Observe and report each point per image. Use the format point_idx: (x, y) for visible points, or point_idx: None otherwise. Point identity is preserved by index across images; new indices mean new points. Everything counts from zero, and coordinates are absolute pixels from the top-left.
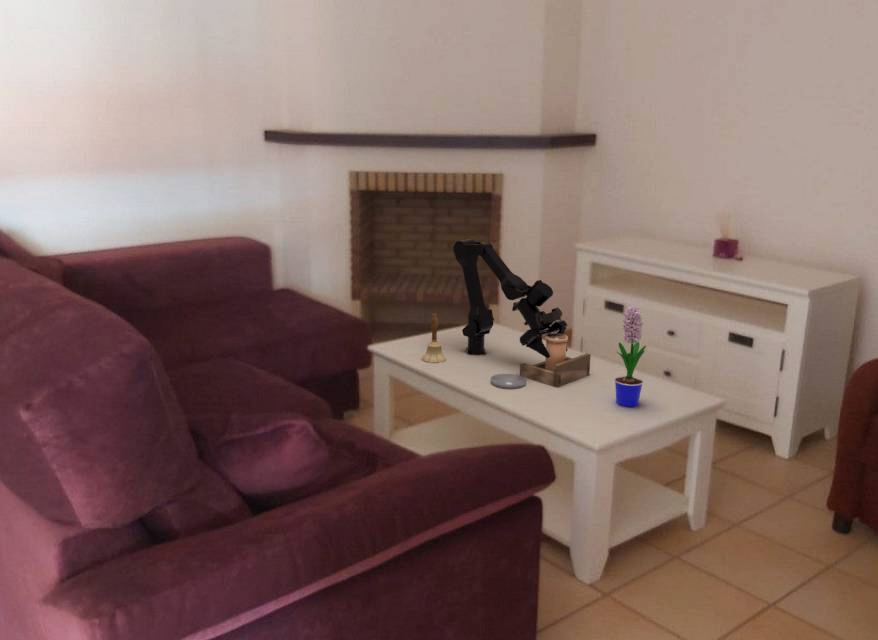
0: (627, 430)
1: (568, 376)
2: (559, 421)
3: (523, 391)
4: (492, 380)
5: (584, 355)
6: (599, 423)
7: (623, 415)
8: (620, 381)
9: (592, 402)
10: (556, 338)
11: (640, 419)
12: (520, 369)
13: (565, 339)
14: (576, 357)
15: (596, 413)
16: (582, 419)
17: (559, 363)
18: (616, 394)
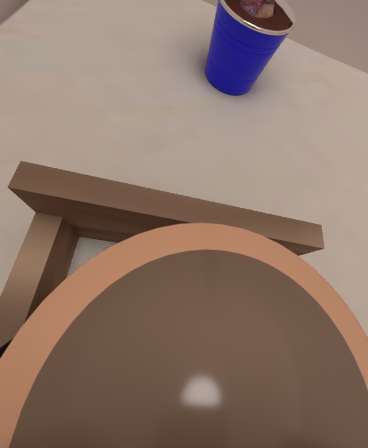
0: (332, 63)
1: None
2: None
3: (363, 321)
4: None
5: (70, 182)
6: (347, 100)
7: (287, 75)
8: (275, 24)
9: (278, 135)
10: (316, 351)
11: (280, 51)
12: None
13: (234, 230)
14: (141, 205)
15: (318, 114)
16: (359, 127)
17: (292, 237)
18: (260, 71)
